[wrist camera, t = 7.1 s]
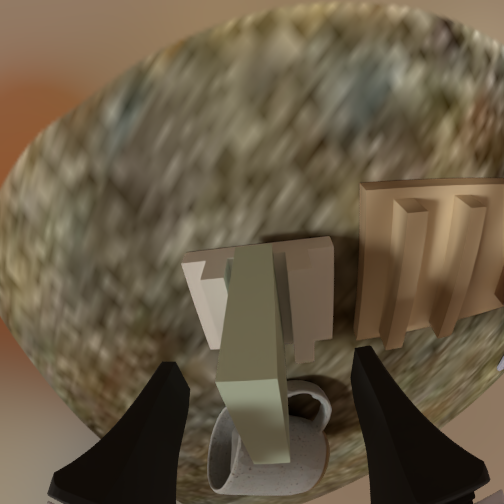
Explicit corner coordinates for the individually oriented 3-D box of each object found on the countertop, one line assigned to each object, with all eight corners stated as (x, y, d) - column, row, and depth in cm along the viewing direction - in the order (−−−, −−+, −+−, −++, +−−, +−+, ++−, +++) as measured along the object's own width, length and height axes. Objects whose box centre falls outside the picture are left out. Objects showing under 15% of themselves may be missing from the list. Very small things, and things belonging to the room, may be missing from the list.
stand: (329, 235, 14) (340, 264, 12) (329, 326, 17) (336, 358, 15) (185, 252, 15) (173, 282, 12) (212, 337, 18) (207, 369, 15)
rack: (551, 179, 11) (575, 194, 9) (522, 290, 15) (538, 309, 13) (359, 183, 12) (378, 203, 10) (353, 328, 17) (362, 359, 15)
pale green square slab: (271, 243, 13) (277, 378, 7) (284, 349, 17) (290, 462, 10) (235, 247, 13) (215, 381, 7) (257, 352, 17) (254, 464, 11)
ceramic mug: (289, 439, 25) (292, 506, 19) (209, 424, 24) (201, 498, 17) (353, 383, 20) (372, 471, 14) (255, 361, 19) (252, 468, 12)
